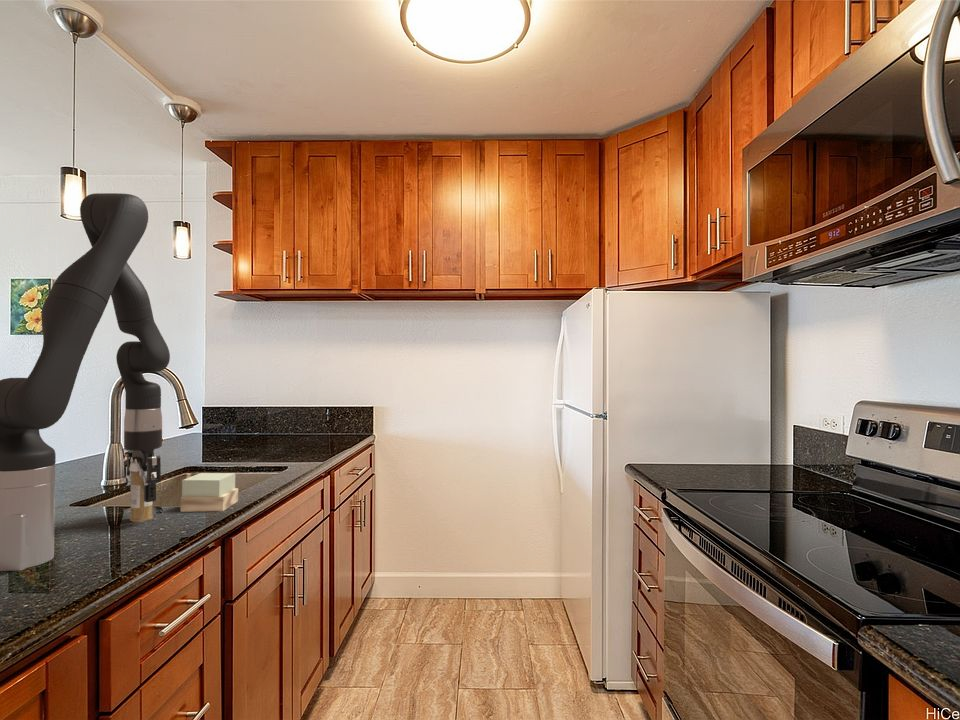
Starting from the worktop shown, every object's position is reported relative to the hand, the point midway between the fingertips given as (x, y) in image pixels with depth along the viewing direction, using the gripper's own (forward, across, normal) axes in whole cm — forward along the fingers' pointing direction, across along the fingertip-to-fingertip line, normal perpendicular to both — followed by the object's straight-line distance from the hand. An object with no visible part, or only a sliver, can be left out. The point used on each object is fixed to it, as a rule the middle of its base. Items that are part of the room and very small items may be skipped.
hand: (143, 498), depth 128 cm
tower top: (+1, 0, -15) cm, 15 cm away
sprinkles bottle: (+5, 0, 0) cm, 5 cm away
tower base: (+6, 0, -15) cm, 16 cm away
